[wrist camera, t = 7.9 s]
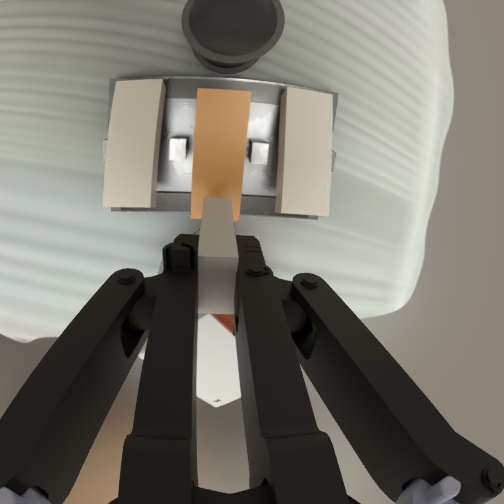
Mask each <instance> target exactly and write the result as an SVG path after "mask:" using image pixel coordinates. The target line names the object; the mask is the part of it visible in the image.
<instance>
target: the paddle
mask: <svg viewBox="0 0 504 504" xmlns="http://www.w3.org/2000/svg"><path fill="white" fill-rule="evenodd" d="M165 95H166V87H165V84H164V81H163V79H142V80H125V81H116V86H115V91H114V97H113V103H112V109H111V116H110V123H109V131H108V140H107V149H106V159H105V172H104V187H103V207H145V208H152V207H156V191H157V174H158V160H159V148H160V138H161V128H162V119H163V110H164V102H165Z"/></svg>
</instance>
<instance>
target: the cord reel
mask: <svg viewBox="0 0 504 504" xmlns="http://www.w3.org/2000/svg"><path fill="white" fill-rule="evenodd" d="M284 20H285V18H284V12H283V8H282V6H281V3H280V2H279V0H188V1H187V3H186V5H185V7H184V10H183V14H182V28H183V32H184V35H185V37H186V39H187V41H188V42H189V44H190V45H191V46H192V48H193V51H194V54H195V56H196V57H197V59H198V60H199V62H200V63H201V64H202V65H203V66H205V67H206V68H208V69H210V70H212V71H214V72H218V73H223V74H232V73H238V72H241V71H244V70H246V69H248V68H249V67H251V66H252V65H253V64H254V63H256V61H257V60H258V59H259V58H260V56H262V55H264V54H265V53H266V52H268V51H269V50H270V49H271V48H272V47H273V46H274V45H275V44H276V43H277V41H278V40H279V38H280V36H281V34H282V32H283V28H284Z"/></svg>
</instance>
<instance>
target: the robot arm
mask: <svg viewBox="0 0 504 504" xmlns="http://www.w3.org/2000/svg"><path fill="white" fill-rule="evenodd" d="M162 250H163V272H162V273H161V274H159V275H156V276H152V277H146V278H144V276H143V273H142V272H140V271H139V270H136V269H131V268H126V269H121V270H118V271H116V272H114V273H113V274H112V275H111V276H110V277H109V278H108V279H107V280H106V282H105V283H104V284H103V285H102V286H101V287H100V288H99V289H98V291H97V292H96V293H95V294H94V295H93V296H92V298H91V299H90V300H89V301H88V302H87V303H86V305H85V306H84V307H83V308H82V309H81V311H80V312H79V313H78V314H77V315H76V317H75V318H74V319H73V320H72V321H71V323H70V324H69V325H68V326H67V328H66V329H65V330H64V331H63V333H62V334H61V335H60V336H59V338H58V339H57V340H56V342H55V343H54V344H53V345H52V347H51V348H50V349H49V351H48V352H47V353H46V355H45V356H44V357H43V359H42V360H41V361H40V363H39V364H38V365H37V367H36V368H35V369H34V371H33V372H32V373H31V375H30V376H29V378H28V379H27V380H26V382H25V383H24V385H23V386H22V388H21V389H20V390H19V392H18V394H17V395H16V397H15V398H14V399H13V401H12V402H11V404H10V405H9V407H8V408H7V410H6V411H5V413H4V415H3V416H2V418H1V419H0V504H63V502H64V501H65V499H66V497H67V496H68V495H69V493H70V491H71V489H72V487H73V485H74V483H75V481H76V479H77V477H78V475H79V473H80V470H81V468H82V466H83V464H84V462H85V460H86V457H87V455H88V453H89V451H90V449H91V447H92V445H93V443H94V440H95V438H96V436H97V434H98V432H99V430H100V428H101V426H102V424H103V422H104V420H105V418H106V416H107V414H108V412H109V410H110V408H111V406H112V404H113V402H114V400H115V398H116V396H117V394H118V392H119V390H120V388H121V387H122V385H123V383H124V381H125V379H126V377H127V375H128V373H129V371H130V369H131V367H132V366H133V364H134V362H135V360H136V358H137V356H138V354H139V353H140V351H141V349H142V347H143V345H144V343H145V342H146V340H147V345H146V350H145V355H144V361H143V366H142V371H141V378H140V383H139V389H138V396H137V402H136V409H135V417H134V423H133V430H132V432H131V434H129V435H127V437H126V439H125V441H124V446H123V453H122V462H121V471H120V481H119V493H118V498H116V499H114V500H113V501H111V502H110V503H109V504H360V503H359V502H357V501H356V500H354V499H353V498H352V497H350V496H348V495H347V493H346V489H345V486H344V482H343V479H342V475H341V472H340V468H339V465H338V462H337V458H336V455H335V451H334V448H333V444H332V442H331V440H330V437H329V436H328V435H327V433H325V432H322V431H320V430H319V429H318V427H317V424H316V421H315V417H314V413H313V410H312V406H311V403H310V399H309V395H308V392H307V389H306V385H305V381H304V378H303V375H302V371H301V367H300V365H301V366H302V368H303V370H304V371H305V373H306V374H307V376H308V378H309V379H310V381H311V382H312V384H313V386H314V387H315V389H316V391H317V392H318V394H319V395H320V397H321V399H322V400H323V402H324V403H325V405H326V406H327V408H328V410H329V411H330V413H331V414H332V416H333V418H334V419H335V421H336V422H337V424H338V425H339V427H340V429H341V430H342V432H343V433H344V435H345V437H346V438H347V440H348V441H349V443H350V444H351V446H352V447H353V449H354V451H355V452H356V454H357V455H358V457H359V459H360V460H361V462H362V463H363V465H364V466H365V468H366V469H367V471H368V472H369V474H370V476H371V477H372V478H373V480H374V481H375V483H376V484H377V485H378V486H379V488H380V489H381V490H382V491H383V492H384V493H385V494H386V495H387V496H388V497H389V498H390V499H391V500H392V501H393V502H395V503H396V504H484V503H486V502H487V501H489V500H491V499H493V498H494V497H496V496H497V495H498V494H500V493H501V492H502V490H503V488H504V467H503V465H502V464H501V463H500V462H499V461H498V460H497V459H496V458H494V457H492V456H491V455H489V454H488V453H486V452H485V451H483V450H482V449H480V448H479V447H477V446H476V445H474V444H473V443H471V442H470V441H468V440H467V439H465V438H464V437H462V436H461V435H459V434H458V433H456V432H455V431H454V430H453V429H452V427H451V426H450V425H449V424H448V422H447V421H446V420H445V419H444V418H443V416H442V415H441V414H440V413H439V411H438V410H437V409H436V408H435V407H434V405H433V404H432V403H431V402H430V400H429V399H428V398H427V397H426V396H425V394H424V393H423V392H422V391H421V390H420V389H419V387H418V386H417V385H416V384H415V383H414V381H413V380H412V379H411V378H410V377H409V375H408V374H407V373H406V372H405V371H404V370H403V368H402V367H401V366H400V365H399V364H398V363H397V361H396V360H395V359H394V358H393V357H392V356H391V354H390V353H389V352H388V351H387V350H386V349H385V348H384V347H383V345H382V344H381V343H380V342H379V341H378V340H377V339H376V337H375V336H374V335H373V334H372V333H371V332H370V330H368V328H367V327H366V326H365V325H364V324H363V323H362V322H361V320H360V319H359V318H358V317H357V316H356V315H355V314H354V313H353V311H352V310H351V309H350V308H349V307H348V306H347V305H346V304H345V303H344V301H343V300H342V299H341V298H340V297H339V296H338V295H337V294H336V293H335V292H334V290H333V289H332V288H331V287H330V286H329V285H328V284H327V283H326V282H325V281H324V280H323V279H322V278H321V277H319V276H317V275H315V274H310V273H300V274H296V275H295V276H294V277H293V281H287V280H283V279H279V278H277V277H275V276H274V275H273V272H272V270H271V269H270V268H269V267H268V266H266V264H265V261H264V257H263V254H262V250H261V246H260V243H259V241H258V240H257V239H256V238H255V237H254V236H241V235H235V227H234V220H233V213H232V205H231V198H213V197H204V200H203V209H202V218H201V227H200V235H194V234H180V235H178V236H177V237H176V238H175V239H174V243H170V244H168V245H166V246H165V247H164V248H163V249H162ZM234 310H235V315H234V327H233V336H235V340H236V351H237V361H238V371H239V381H240V391H241V400H242V410H243V419H244V428H245V437H246V445H247V453H248V462H249V472H250V479H249V480H250V481H249V482H250V483H249V486H250V489H248V490H245V491H241V492H237V493H232V494H228V493H222V492H217V491H213V490H208V489H204V488H200V487H198V475H197V438H196V437H197V436H196V382H197V338H198V313H199V314H234ZM147 338H148V339H147ZM299 363H300V364H299Z"/></svg>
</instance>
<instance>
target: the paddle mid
mask: <svg viewBox="0 0 504 504" xmlns="http://www.w3.org/2000/svg"><path fill="white" fill-rule="evenodd" d="M251 93H252V92H251V91H240V90H226V89H207V88H198V90H197V102H196V115H195V129H194V145H193V165H192V190H191V219H201V218H202V209H203V200H204V197H213V198H231V205H232V213H233V220H234V221H239V216H240V205H241V194H242V183H243V172H244V162H245V152H246V141H247V131H248V122H249V112H250V102H251Z"/></svg>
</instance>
